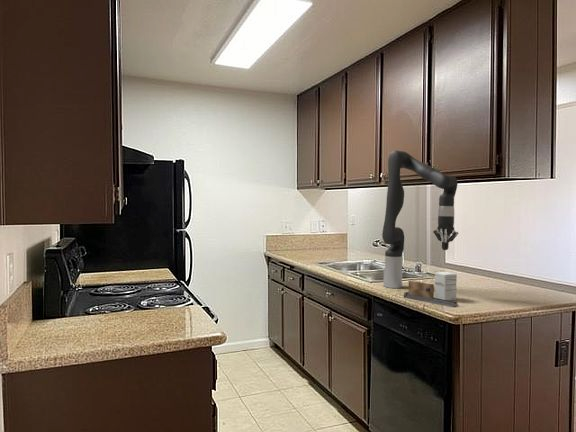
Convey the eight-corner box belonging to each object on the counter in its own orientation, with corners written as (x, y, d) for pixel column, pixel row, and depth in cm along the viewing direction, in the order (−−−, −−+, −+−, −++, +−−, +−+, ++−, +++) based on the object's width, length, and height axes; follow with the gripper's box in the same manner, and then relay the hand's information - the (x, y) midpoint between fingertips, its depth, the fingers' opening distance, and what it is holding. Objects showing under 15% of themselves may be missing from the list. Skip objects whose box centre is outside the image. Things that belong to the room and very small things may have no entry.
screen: (407, 295, 210) (407, 281, 210) (409, 294, 211) (410, 280, 211) (431, 299, 200) (431, 284, 200) (433, 299, 201) (433, 284, 201)
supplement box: (434, 297, 210) (434, 272, 210) (446, 296, 213) (446, 271, 212) (444, 301, 203) (444, 274, 203) (456, 299, 206) (457, 273, 205)
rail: (403, 297, 211) (403, 292, 211) (408, 296, 214) (408, 291, 213) (453, 307, 191) (453, 301, 191) (457, 305, 193) (457, 300, 193)
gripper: (430, 214, 216) (429, 249, 216) (454, 216, 205) (453, 251, 206) (438, 214, 220) (437, 248, 221) (462, 215, 210) (461, 250, 211)
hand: (445, 249), depth 214 cm, fingers closed
